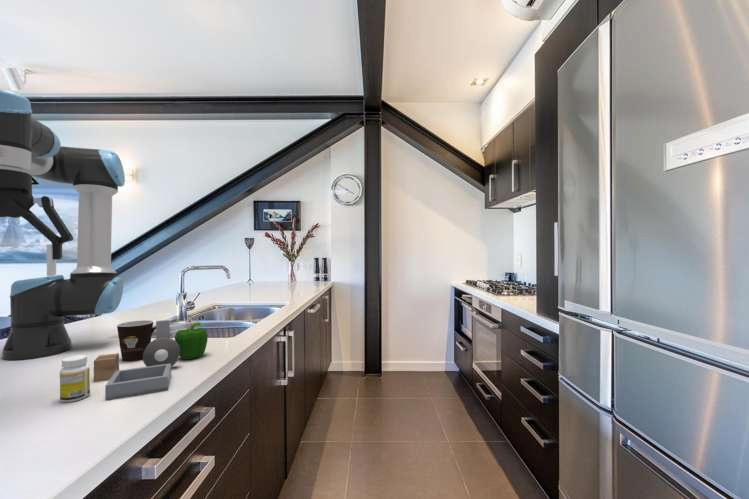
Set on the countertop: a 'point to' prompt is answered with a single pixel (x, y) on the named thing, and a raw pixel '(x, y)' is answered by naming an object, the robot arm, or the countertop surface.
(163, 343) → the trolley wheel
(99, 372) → the wooden block
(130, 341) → the coffee mug
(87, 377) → the supplement bottle
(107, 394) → the tray
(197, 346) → the bell pepper
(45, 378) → the countertop surface
